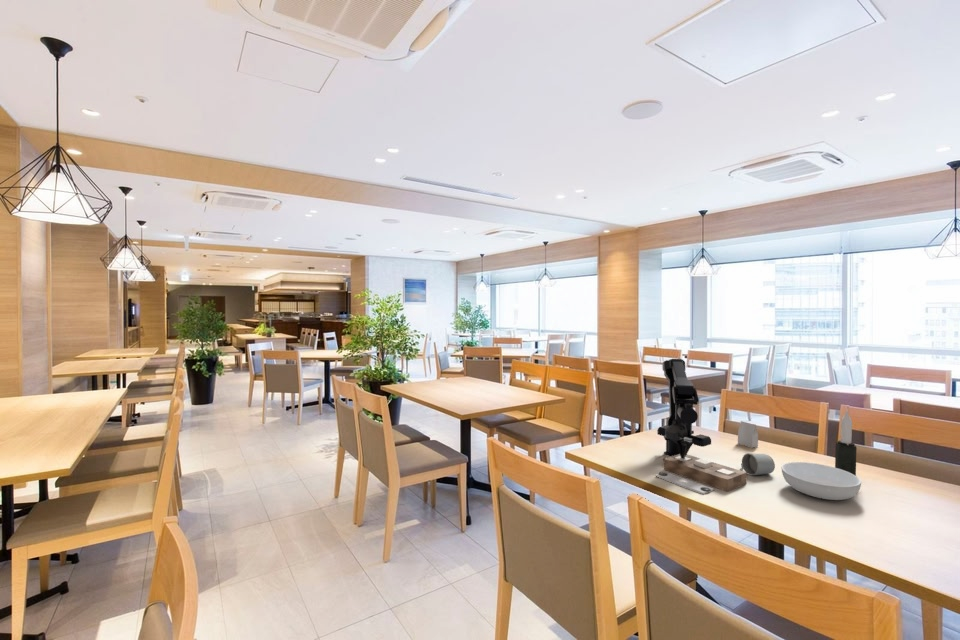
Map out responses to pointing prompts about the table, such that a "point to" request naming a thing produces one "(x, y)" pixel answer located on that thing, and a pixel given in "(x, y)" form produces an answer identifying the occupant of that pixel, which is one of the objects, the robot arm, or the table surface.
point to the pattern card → (684, 482)
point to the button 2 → (725, 472)
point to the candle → (846, 447)
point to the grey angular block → (748, 434)
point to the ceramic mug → (757, 464)
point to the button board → (706, 473)
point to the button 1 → (683, 459)
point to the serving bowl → (821, 480)
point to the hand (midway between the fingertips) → (682, 458)
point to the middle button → (703, 463)
